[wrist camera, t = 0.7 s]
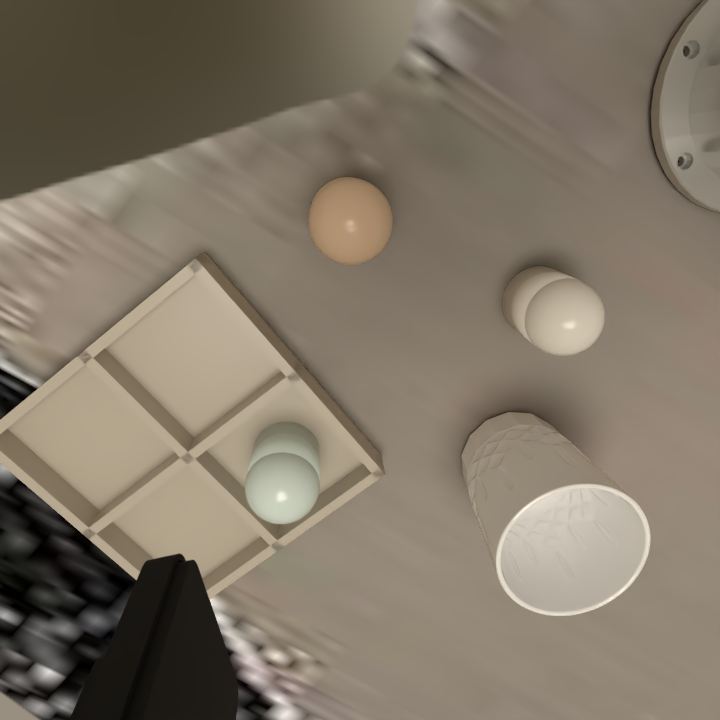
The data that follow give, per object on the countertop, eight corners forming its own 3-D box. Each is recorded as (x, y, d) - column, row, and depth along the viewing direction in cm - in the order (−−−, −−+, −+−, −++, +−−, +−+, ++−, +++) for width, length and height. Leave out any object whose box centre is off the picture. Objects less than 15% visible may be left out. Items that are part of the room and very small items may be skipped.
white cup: (447, 412, 36) (491, 497, 27) (567, 394, 36) (654, 472, 27) (456, 515, 39) (500, 627, 29) (568, 498, 39) (648, 603, 30)
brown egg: (353, 160, 31) (361, 158, 25) (398, 222, 32) (415, 234, 27) (294, 209, 32) (288, 217, 26) (340, 267, 33) (345, 289, 27)
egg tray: (204, 251, 32) (195, 258, 30) (381, 455, 37) (385, 474, 35) (-3, 423, 34) (-26, 441, 32) (189, 592, 39) (181, 618, 37)
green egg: (290, 409, 35) (284, 456, 29) (333, 456, 36) (335, 510, 30) (238, 448, 35) (223, 502, 30) (282, 492, 37) (275, 553, 31)
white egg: (547, 251, 33) (594, 269, 28) (582, 306, 35) (634, 333, 29) (488, 295, 34) (523, 320, 28) (525, 347, 35) (565, 382, 29)
